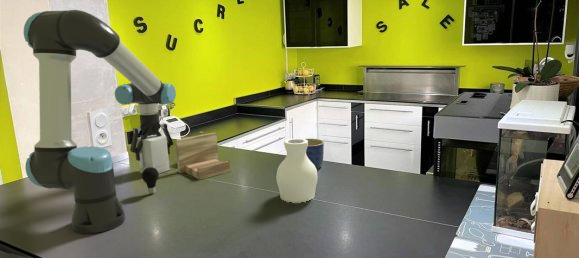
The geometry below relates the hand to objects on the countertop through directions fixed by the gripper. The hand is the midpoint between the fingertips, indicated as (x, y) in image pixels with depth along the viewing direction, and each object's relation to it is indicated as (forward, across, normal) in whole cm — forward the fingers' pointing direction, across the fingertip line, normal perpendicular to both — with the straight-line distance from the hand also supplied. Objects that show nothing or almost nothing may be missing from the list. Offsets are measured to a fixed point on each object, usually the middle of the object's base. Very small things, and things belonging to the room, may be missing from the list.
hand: (154, 164), depth 182 cm
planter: (+3, -51, +41) cm, 66 cm away
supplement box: (+3, 0, 0) cm, 3 cm away
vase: (+3, -26, +63) cm, 68 cm away
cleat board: (+3, -16, +15) cm, 22 cm away
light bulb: (+3, +11, +25) cm, 27 cm away
